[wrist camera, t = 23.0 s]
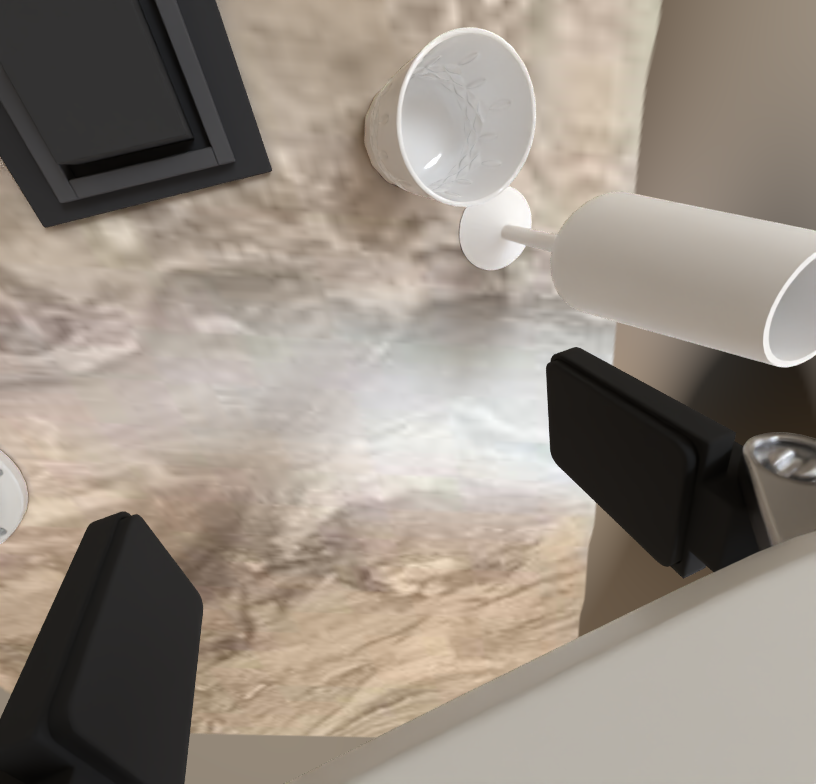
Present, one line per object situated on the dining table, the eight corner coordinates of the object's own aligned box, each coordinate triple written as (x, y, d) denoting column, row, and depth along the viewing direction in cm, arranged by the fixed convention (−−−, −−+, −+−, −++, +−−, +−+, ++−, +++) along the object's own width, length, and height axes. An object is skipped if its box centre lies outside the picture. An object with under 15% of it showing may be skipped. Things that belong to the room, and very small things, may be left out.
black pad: (82, 165, 25) (56, 164, 22) (6, 23, 22) (-38, -3, 19) (195, 139, 26) (186, 134, 23) (139, 0, 23) (119, -28, 20)
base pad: (50, 226, 27) (33, 231, 25) (-107, -32, 21) (-148, -55, 19) (271, 170, 29) (273, 170, 27) (189, -76, 23) (183, -101, 21)
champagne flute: (537, 253, 38) (865, 349, 18) (469, 282, 37) (731, 417, 17) (525, 171, 34) (917, 174, 14) (450, 202, 34) (751, 250, 13)
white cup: (356, 58, 28) (403, 10, 19) (467, 78, 30) (551, 43, 22) (353, 192, 31) (391, 201, 23) (452, 200, 34) (520, 211, 25)
